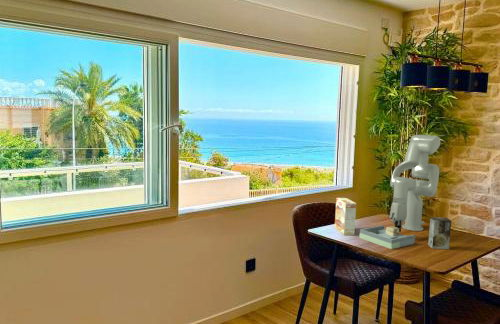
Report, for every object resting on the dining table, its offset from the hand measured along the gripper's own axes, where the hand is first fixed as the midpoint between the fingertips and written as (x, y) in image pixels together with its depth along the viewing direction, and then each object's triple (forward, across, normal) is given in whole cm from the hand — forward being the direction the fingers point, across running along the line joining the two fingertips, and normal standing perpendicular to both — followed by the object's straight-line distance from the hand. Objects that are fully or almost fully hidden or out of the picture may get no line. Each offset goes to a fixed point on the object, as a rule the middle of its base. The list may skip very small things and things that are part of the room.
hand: (397, 231), depth 229 cm
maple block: (+1, +5, 0) cm, 5 cm away
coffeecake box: (+4, +18, -24) cm, 31 cm away
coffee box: (+4, -8, +21) cm, 23 cm away
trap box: (+4, +9, 0) cm, 10 cm away
